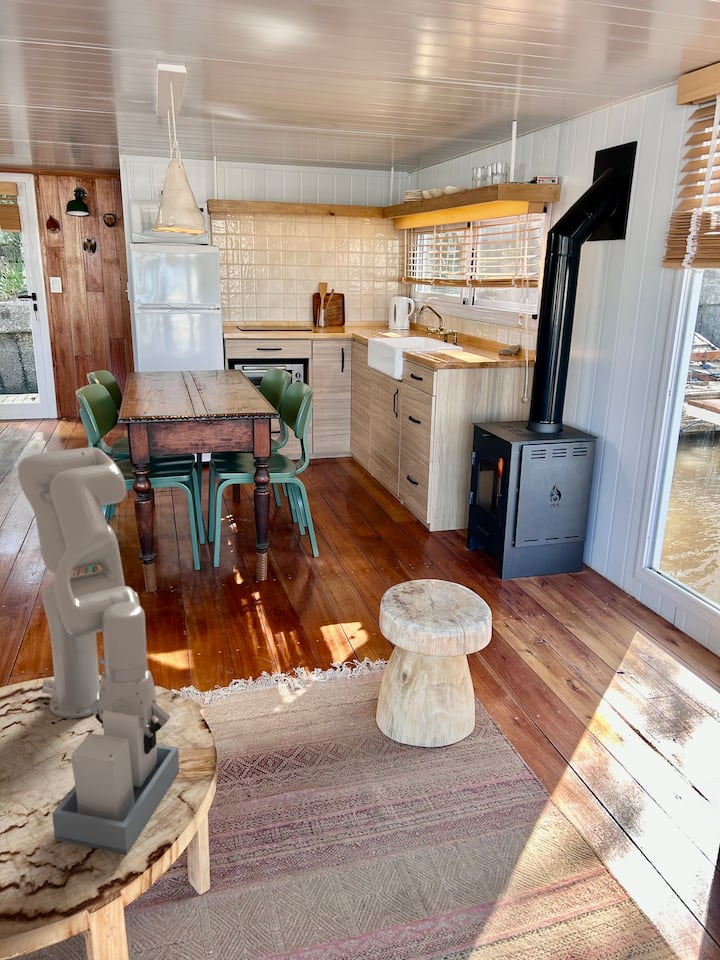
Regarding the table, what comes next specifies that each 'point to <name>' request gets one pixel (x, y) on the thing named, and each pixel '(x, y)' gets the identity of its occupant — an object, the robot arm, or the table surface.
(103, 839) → the tote
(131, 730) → the milk carton
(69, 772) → the table surface
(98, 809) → the skincare box
